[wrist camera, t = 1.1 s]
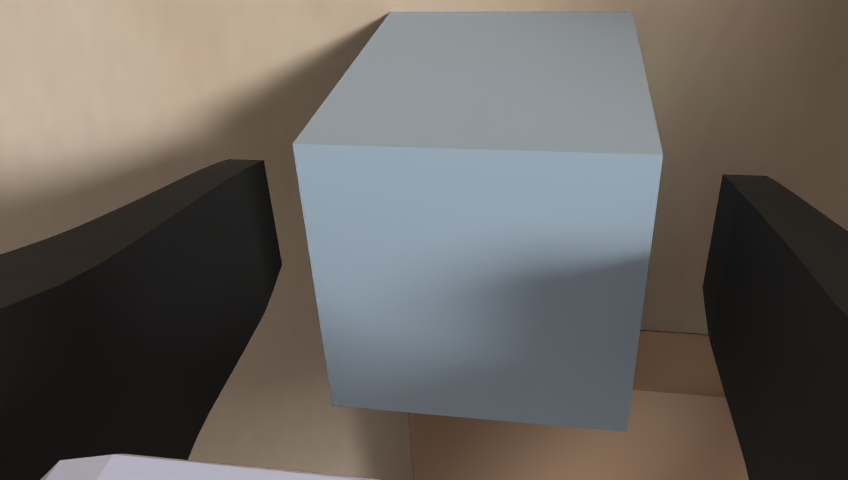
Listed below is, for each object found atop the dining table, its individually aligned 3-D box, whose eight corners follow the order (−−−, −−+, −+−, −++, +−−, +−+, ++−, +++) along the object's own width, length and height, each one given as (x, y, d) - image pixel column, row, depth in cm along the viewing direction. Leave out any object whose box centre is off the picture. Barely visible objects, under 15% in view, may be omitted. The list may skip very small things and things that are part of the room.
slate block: (631, 11, 14) (662, 155, 9) (611, 224, 16) (626, 432, 11) (390, 12, 15) (292, 143, 10) (404, 214, 17) (332, 405, 12)
